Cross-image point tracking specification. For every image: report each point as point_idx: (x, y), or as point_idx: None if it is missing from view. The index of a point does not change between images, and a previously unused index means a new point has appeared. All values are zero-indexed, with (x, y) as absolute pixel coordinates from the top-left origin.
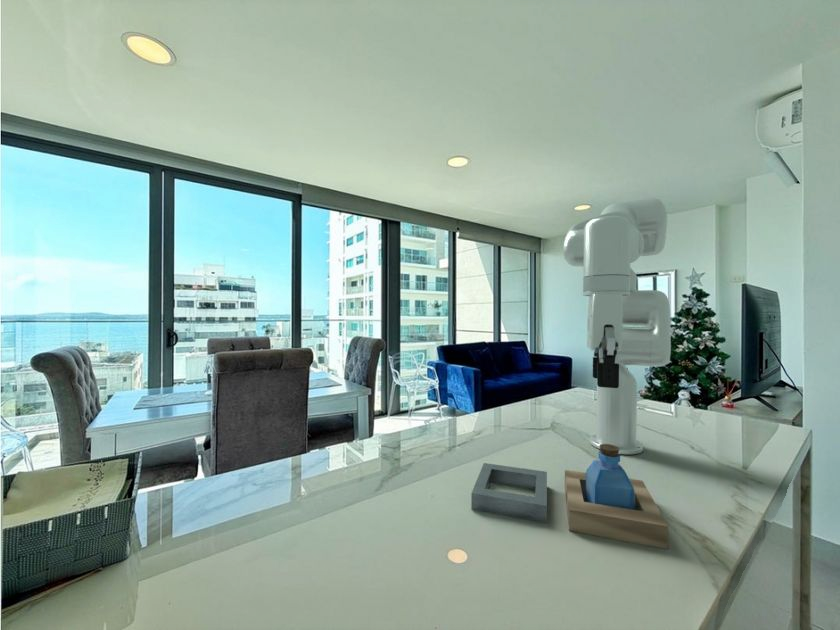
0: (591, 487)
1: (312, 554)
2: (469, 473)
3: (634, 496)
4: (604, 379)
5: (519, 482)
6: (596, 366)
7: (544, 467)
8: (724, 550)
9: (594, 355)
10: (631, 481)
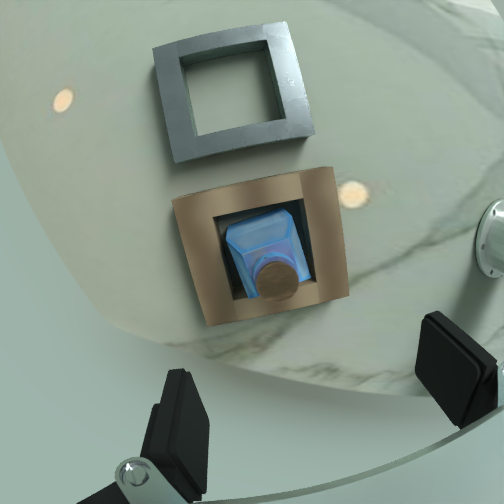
0: (249, 227)
1: (25, 11)
2: (280, 11)
3: None
4: (153, 412)
5: (276, 92)
6: (451, 355)
7: (383, 124)
8: (245, 360)
9: (497, 374)
10: (337, 281)
